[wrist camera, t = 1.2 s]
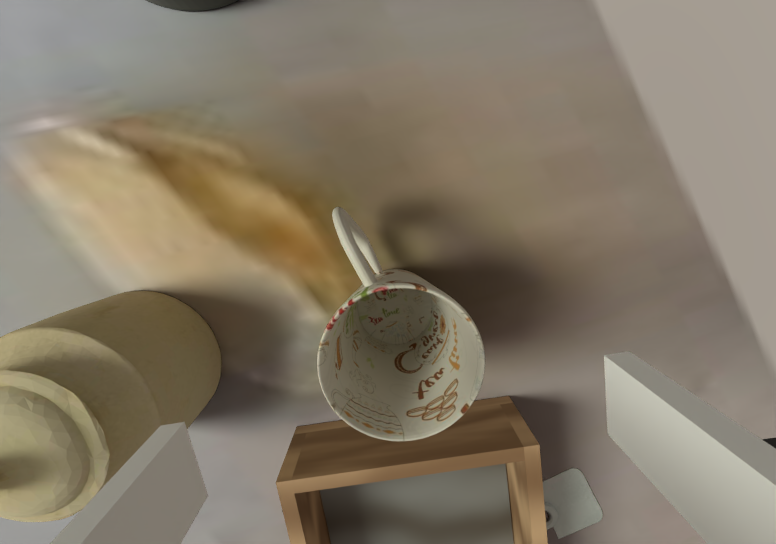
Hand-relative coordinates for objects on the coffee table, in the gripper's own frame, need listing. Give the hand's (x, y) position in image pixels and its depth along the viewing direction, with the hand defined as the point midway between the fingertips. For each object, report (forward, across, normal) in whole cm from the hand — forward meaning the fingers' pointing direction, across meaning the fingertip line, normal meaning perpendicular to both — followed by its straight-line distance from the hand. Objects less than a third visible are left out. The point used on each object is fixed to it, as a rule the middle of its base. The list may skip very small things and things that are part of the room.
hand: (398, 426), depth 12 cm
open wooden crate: (+16, -1, -20) cm, 26 cm away
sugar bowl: (+17, -21, -3) cm, 27 cm away
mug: (+17, 0, 0) cm, 17 cm away
